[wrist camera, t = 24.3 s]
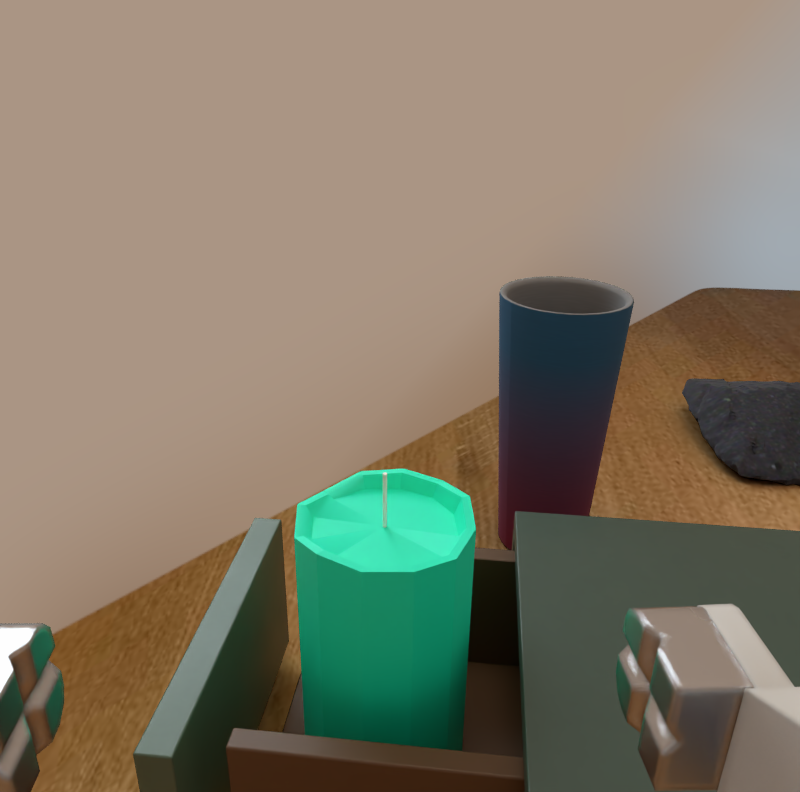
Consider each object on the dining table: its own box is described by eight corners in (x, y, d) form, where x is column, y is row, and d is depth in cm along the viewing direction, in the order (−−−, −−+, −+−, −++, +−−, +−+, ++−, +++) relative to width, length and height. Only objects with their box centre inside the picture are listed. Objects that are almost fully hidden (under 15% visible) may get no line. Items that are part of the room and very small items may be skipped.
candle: (430, 673, 33) (439, 422, 28) (487, 791, 27) (511, 507, 22) (291, 705, 31) (275, 444, 26) (324, 837, 26) (311, 542, 21)
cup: (551, 495, 50) (575, 270, 43) (623, 551, 44) (663, 303, 38) (462, 521, 47) (474, 284, 41) (527, 584, 41) (554, 321, 35)
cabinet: (505, 986, 23) (527, 792, 20) (501, 665, 36) (514, 510, 32) (1049, 1058, 22) (1178, 861, 18) (849, 697, 34) (903, 537, 31)
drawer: (124, 899, 25) (92, 749, 22) (239, 636, 36) (228, 515, 33) (614, 961, 23) (647, 809, 20) (575, 666, 35) (592, 542, 32)
